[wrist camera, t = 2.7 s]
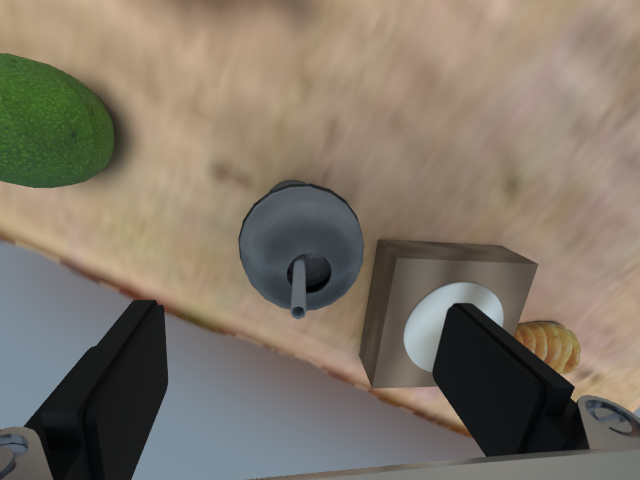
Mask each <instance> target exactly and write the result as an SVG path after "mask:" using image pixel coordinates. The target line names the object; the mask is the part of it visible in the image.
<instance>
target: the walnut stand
mask: <svg viewBox="0 0 640 480" xmlns="http://www.w3.org/2000/svg"><path fill="white" fill-rule="evenodd" d="M537 267H538V264H537V263H535V262H533V261H531V260H529V259H527V258H525V257H523V256H521V255H519V254H517V253H515V252H513V251H511V250H509V249H507V248H505V247H503V246H492V245H473V244H454V243H434V242H415V241H396V240H378V244H377V250H376V257H375V263H374V269H373V275H372V281H371V287H370V293H369V299H368V305H367V311H366V317H365V323H364V329H363V335H362V341H361V347H360V353H359V356H360V359H361V361H362V364H363V366H364V369H365V371H366V374H367V376H368V379H369V382H370V384H371V387H372V388H402V387H434V386H438V385H437V384H436V382H435V381H434V379H433V375H432V370H433V365H434V361H435V357H436V353H437V349H438V345H439V341H440V337H441V333H442V329H443V325H444V321H445V317H446V313H447V310H448V308H449V307H451V306H452V305H453V304H454V303H472V304H474V305H475V306H476V307H477V308H479V309H480V310H481V311H482V312H484V313H485V314H486V315H487V316H488V317H490V318H491V319H492V320H493V321H495V322H496V323H497V324H498V325H500V326H501V327H502V328H503V329H504V330H506V331H507V332H508V333H509V334H511V335H512V336H513V337H514V334H515V331H516V328H517V325H518V322H519V319H520V316H521V313H522V310H523V308H524V305H525V302H526V299H527V296H528V293H529V290H530V287H531V284H532V281H533V278H534V275H535V272H536V269H537Z"/></svg>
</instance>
